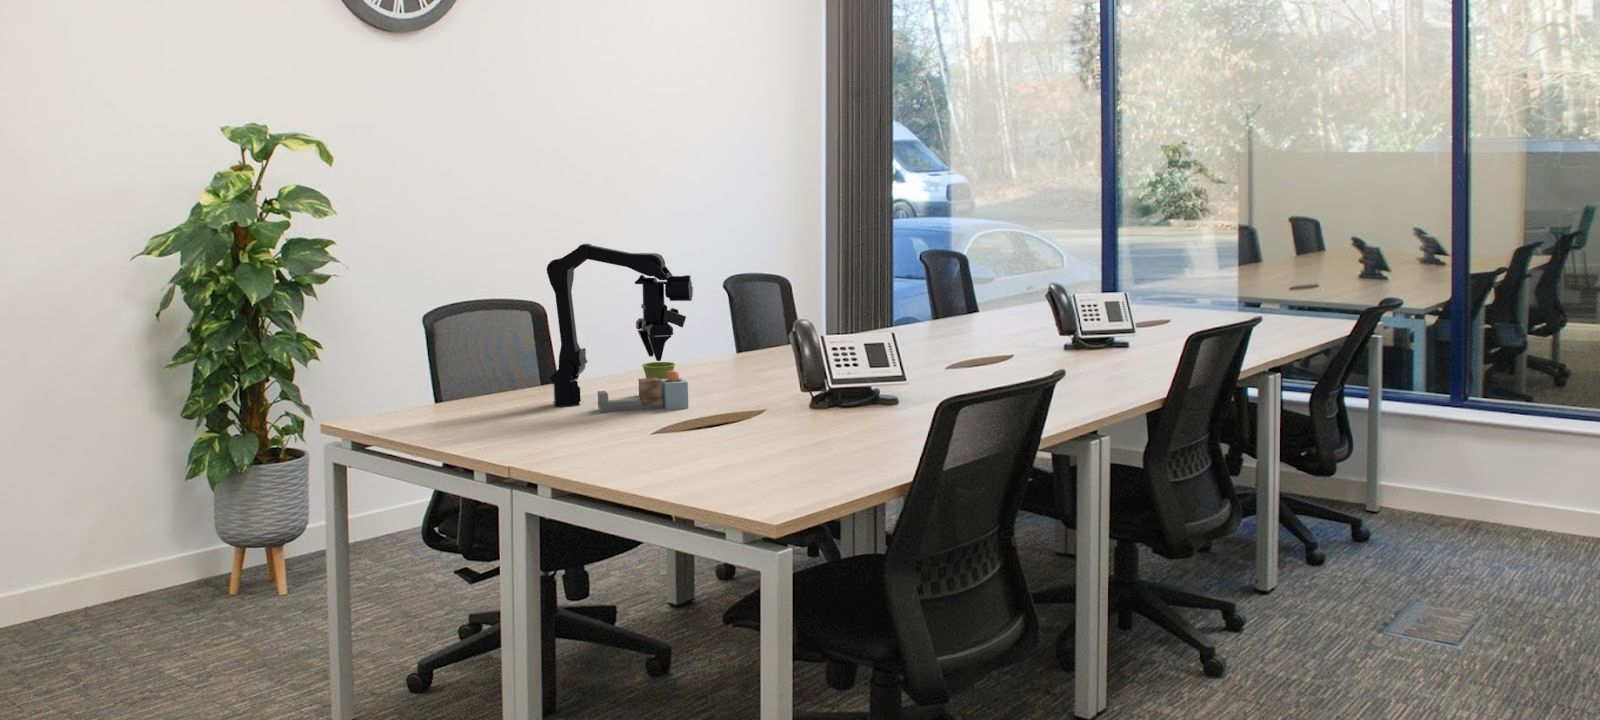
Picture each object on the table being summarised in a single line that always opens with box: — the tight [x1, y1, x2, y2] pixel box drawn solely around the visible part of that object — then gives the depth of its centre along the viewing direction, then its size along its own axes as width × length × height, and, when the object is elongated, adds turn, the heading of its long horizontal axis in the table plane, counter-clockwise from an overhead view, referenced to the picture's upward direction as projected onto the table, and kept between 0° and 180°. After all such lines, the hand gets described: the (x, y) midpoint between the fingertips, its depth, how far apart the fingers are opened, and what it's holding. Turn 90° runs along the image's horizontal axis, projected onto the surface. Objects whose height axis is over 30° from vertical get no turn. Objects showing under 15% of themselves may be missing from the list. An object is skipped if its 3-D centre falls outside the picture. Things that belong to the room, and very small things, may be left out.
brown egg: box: [668, 370, 680, 382], centre depth 366 cm, size 3×3×4 cm
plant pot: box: [641, 361, 676, 380], centre depth 387 cm, size 9×9×9 cm
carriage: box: [638, 377, 661, 406], centre depth 365 cm, size 5×5×6 cm
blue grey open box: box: [660, 377, 689, 411], centre depth 367 cm, size 6×8×7 cm
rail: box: [597, 390, 665, 414], centre depth 364 cm, size 18×5×5 cm, turn 106°
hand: (654, 358), depth 369 cm, fingers open, 9 cm apart
